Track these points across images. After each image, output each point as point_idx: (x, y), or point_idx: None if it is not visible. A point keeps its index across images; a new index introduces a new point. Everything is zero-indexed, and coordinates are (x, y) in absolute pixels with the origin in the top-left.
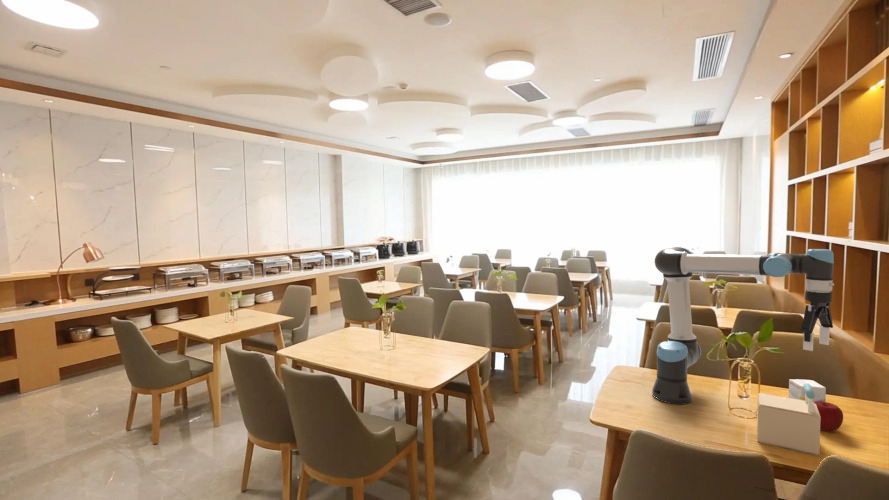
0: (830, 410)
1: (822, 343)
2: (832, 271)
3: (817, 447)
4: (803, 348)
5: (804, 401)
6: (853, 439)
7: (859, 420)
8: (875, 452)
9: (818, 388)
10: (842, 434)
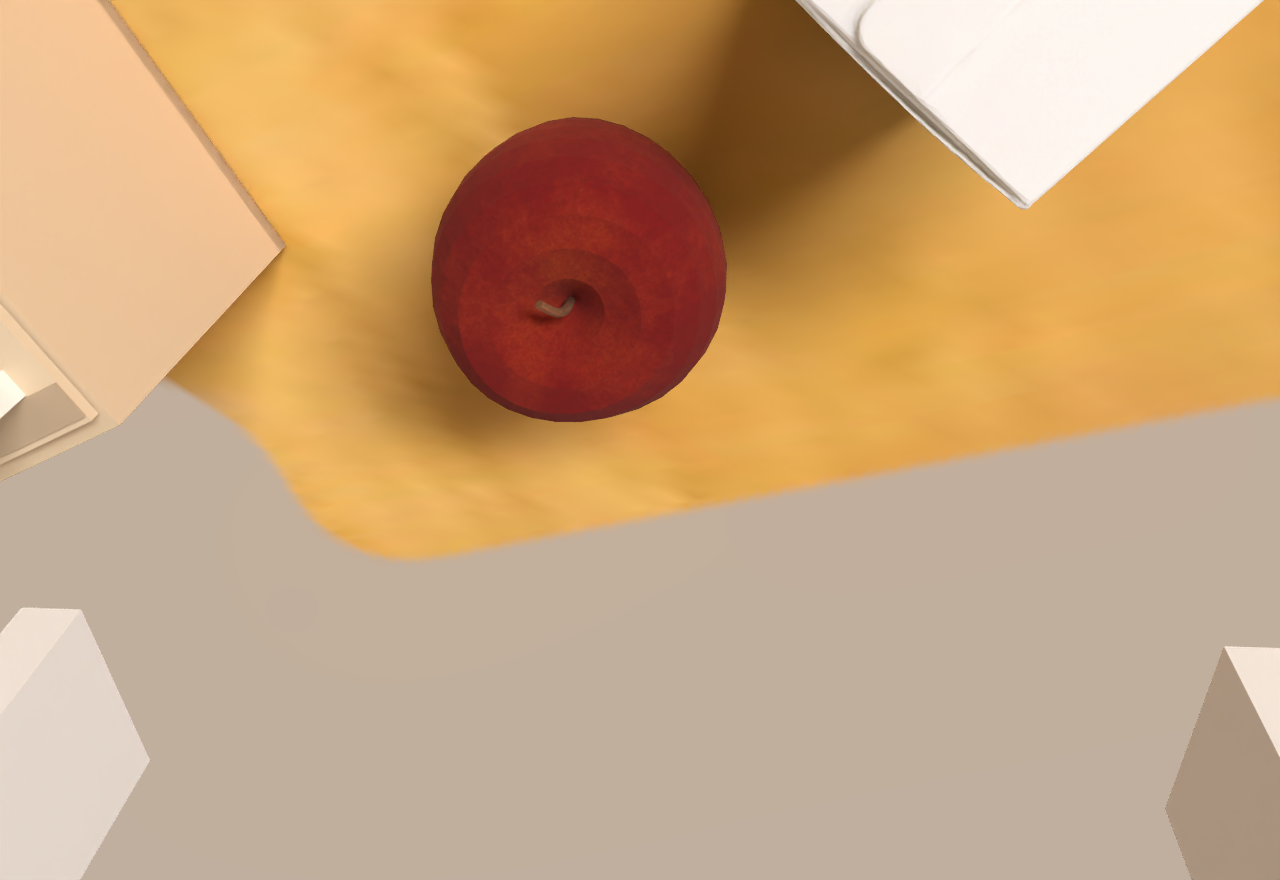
0: (471, 382)
1: (1211, 728)
2: None
3: None
4: (15, 635)
5: (4, 362)
6: None
7: (1120, 298)
8: (504, 520)
9: (947, 147)
10: None
